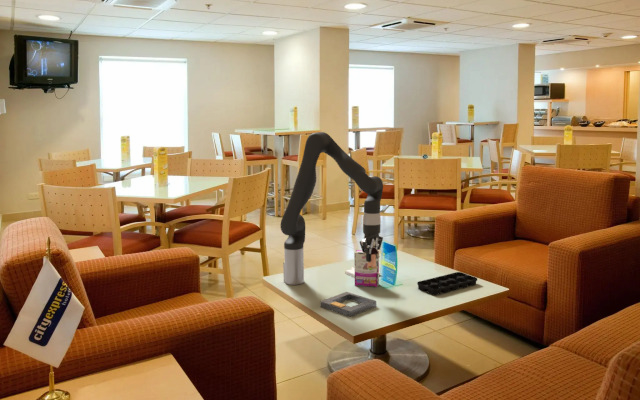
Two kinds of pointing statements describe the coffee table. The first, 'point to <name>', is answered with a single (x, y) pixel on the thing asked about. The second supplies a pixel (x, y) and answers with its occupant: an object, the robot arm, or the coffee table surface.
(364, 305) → the holder board
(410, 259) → the coffee table surface
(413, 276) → the coffee table surface
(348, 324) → the coffee table surface
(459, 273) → the egg carton
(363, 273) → the candy bar box
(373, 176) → the robot arm
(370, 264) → the grandmother figurine
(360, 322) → the coffee table surface
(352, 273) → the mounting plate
